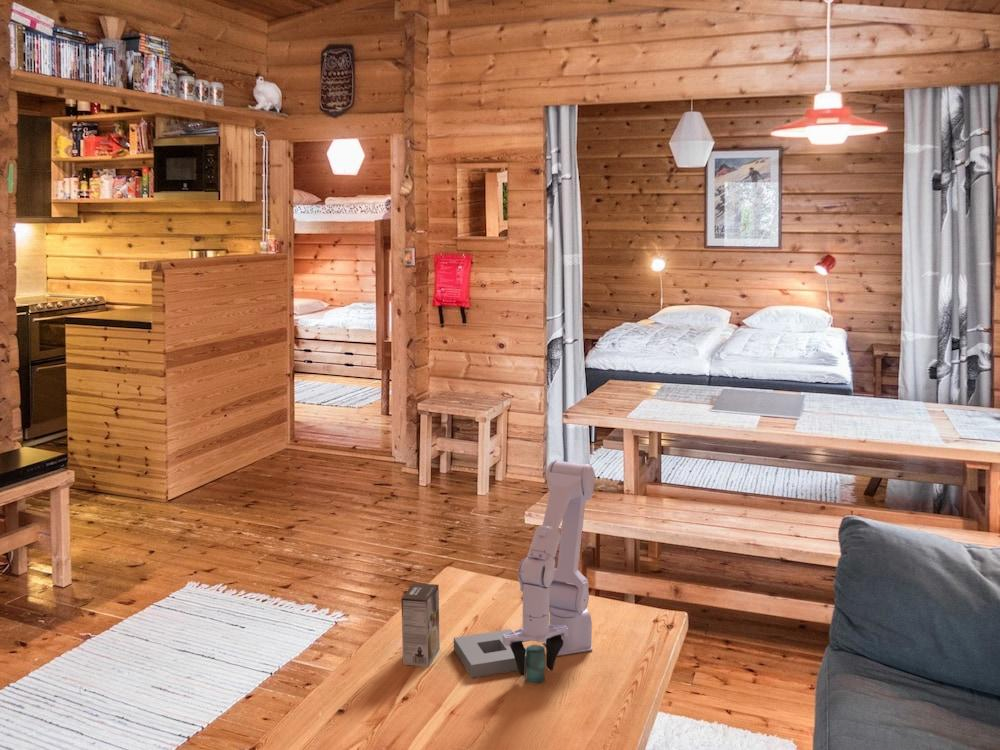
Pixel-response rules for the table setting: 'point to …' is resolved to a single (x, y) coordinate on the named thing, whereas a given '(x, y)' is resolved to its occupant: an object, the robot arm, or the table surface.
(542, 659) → the peg
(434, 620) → the coffee box
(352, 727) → the table surface
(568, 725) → the table surface
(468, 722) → the table surface
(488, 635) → the socket
